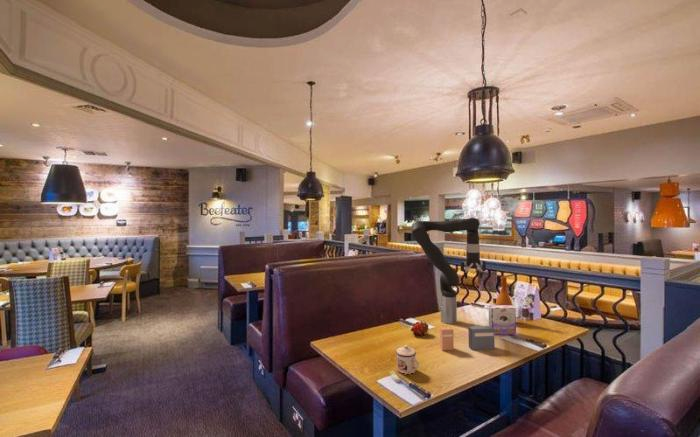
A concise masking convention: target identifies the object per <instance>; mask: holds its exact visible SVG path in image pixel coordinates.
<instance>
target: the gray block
mask: <svg viewBox="0 0 700 437" xmlns="http://www.w3.org/2000/svg"><path fill="white" fill-rule="evenodd" d="M467 328H468V330H467V331H468V348H469V349H470V350H471V351H479V350H481V351H482V350H495V349H496V348H495V342H496V341H495V335H494V328H493V327H492V326H489V325H482V326H480V325H479V326H474V325H473V326H468V327H467Z"/></svg>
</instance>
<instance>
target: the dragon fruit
mask: <svg viewBox="0 0 700 437" xmlns="http://www.w3.org/2000/svg"><path fill="white" fill-rule="evenodd" d="M410 332H412V334H413V335H414V334H415V336H419V335H420V337H422V336H423V335H425V334H427V333H429V324H428V323H427V322H423V321H422V320H420V321H416V322H414V323H413V324H412V327H411V329H410Z"/></svg>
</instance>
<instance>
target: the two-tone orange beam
mask: <svg viewBox="0 0 700 437" xmlns="http://www.w3.org/2000/svg"><path fill="white" fill-rule="evenodd" d="M454 346H455V345H454V328H453V327H452V326H439V348H440V349H441V350H442V351H454V348H455V347H454Z"/></svg>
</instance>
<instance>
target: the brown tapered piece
mask: <svg viewBox="0 0 700 437" xmlns="http://www.w3.org/2000/svg"><path fill="white" fill-rule="evenodd" d="M507 283H508V280H507V277H506V276H501V278H500V284H501V289H500V292H499V295H498V296H497V299H496V302H495V305H512V306H513V303H512V300H511V297H510V294H509V291H508V289H507Z"/></svg>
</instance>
